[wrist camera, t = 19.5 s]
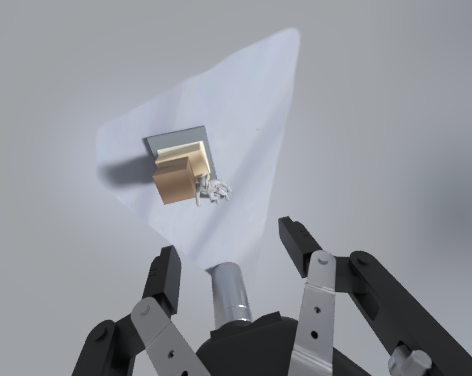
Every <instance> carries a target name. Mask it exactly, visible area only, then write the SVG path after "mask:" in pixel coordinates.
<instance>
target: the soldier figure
mask: <svg viewBox="0 0 472 376" xmlns="http://www.w3.org/2000/svg"><path fill="white" fill-rule="evenodd" d="M196 179H197V182H199V183H200V185H199V186H198V187H197V190H196V203H197V206H200V205H201V204H200V202H199V197H200V192H201V191H204V192H206V193H207V194H208V196H209V198H210V200H212V201H214V200H216V203H217V204H219V199H218V196H214V192H216V193H218V194H220V195H223V196H224V195H225V198H226V200H229V197H228V195H227V192H228V191H229V192H230V194H231V193H232V190H231V188H230V187H229V186H228V185H227V184H225V183H224V182H223V181H221V180H217V179H211V180H208V174H206V175H205V176H202V177H200V178H196ZM217 184H220V185H222V186H223V187H225V188H227V192H225V191H224V190H222V189H221V188H220V187H219V186H218V185H217Z"/></svg>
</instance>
